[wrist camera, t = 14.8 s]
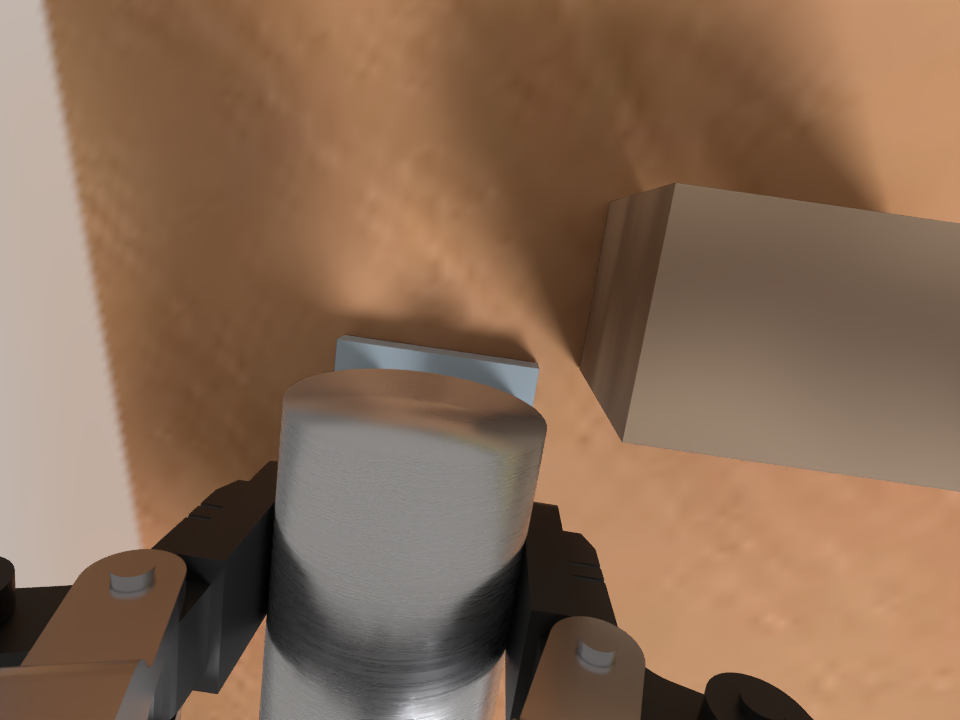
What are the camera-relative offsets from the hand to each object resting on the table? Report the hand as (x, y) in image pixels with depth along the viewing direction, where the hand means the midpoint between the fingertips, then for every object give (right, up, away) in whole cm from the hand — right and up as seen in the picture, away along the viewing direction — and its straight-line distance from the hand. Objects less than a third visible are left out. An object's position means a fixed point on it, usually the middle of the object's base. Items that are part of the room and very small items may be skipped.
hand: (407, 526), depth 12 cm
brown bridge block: (+9, +5, +5) cm, 12 cm away
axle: (0, -3, +2) cm, 4 cm away
